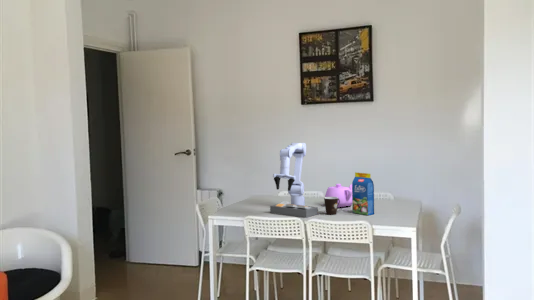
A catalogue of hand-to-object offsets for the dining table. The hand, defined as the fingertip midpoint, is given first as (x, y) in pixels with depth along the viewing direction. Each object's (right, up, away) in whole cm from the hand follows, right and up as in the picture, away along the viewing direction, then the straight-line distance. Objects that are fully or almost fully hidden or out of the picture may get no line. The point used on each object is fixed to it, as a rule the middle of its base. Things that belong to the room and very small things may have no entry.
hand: (283, 190), depth 290 cm
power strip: (+7, -15, +6) cm, 18 cm away
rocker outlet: (+13, -11, 0) cm, 17 cm away
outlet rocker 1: (0, -10, +12) cm, 16 cm away
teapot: (+39, -13, +28) cm, 50 cm away
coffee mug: (+31, -15, +2) cm, 35 cm away
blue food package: (+49, -15, 0) cm, 51 cm away
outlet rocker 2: (+7, -11, +6) cm, 14 cm away
